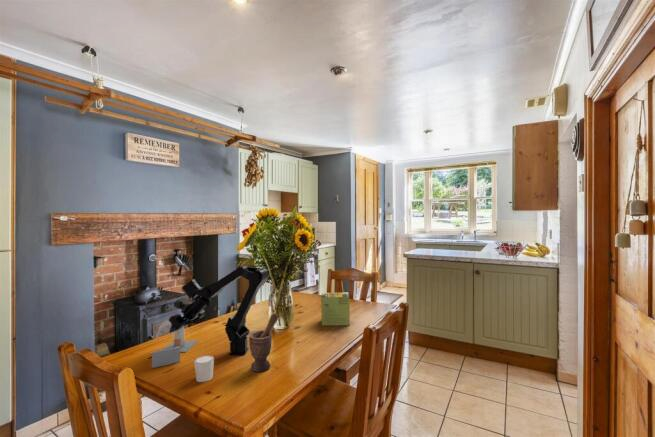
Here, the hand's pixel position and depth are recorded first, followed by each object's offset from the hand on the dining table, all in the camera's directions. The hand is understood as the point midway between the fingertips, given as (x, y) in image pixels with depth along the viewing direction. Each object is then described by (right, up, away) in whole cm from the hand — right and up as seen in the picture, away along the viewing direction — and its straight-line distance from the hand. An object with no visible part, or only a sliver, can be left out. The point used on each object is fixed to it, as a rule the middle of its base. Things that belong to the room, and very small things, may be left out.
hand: (177, 328), depth 144 cm
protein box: (+74, -7, +29) cm, 80 cm away
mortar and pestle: (+44, -8, -21) cm, 49 cm away
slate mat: (+1, -8, 0) cm, 9 cm away
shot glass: (+24, -8, -29) cm, 39 cm away
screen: (+4, -8, -17) cm, 20 cm away
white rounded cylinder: (+1, -8, 0) cm, 8 cm away
